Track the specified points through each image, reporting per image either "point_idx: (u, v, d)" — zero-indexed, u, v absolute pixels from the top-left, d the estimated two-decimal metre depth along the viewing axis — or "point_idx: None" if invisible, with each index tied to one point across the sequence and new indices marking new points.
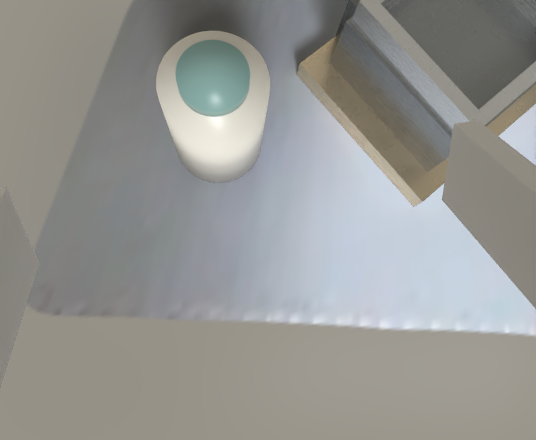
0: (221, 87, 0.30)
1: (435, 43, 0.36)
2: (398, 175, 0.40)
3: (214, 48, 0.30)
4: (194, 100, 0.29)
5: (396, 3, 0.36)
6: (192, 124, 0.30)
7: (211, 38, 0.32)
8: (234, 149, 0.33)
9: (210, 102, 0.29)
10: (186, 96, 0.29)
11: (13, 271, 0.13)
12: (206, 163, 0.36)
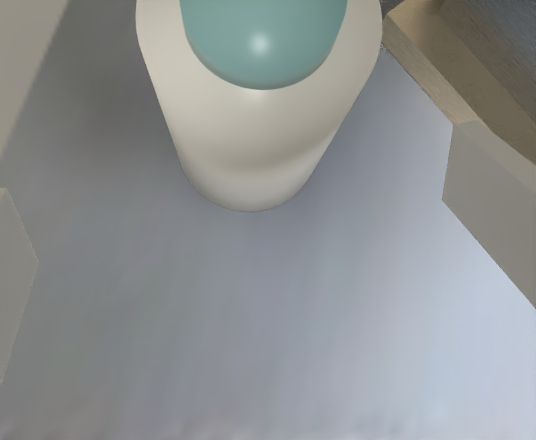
0: (283, 21, 0.13)
1: None
2: None
3: None
4: (221, 49, 0.13)
5: None
6: (214, 106, 0.14)
7: None
8: (294, 159, 0.17)
9: (258, 54, 0.13)
10: (203, 39, 0.13)
11: (13, 271, 0.13)
12: (233, 184, 0.19)
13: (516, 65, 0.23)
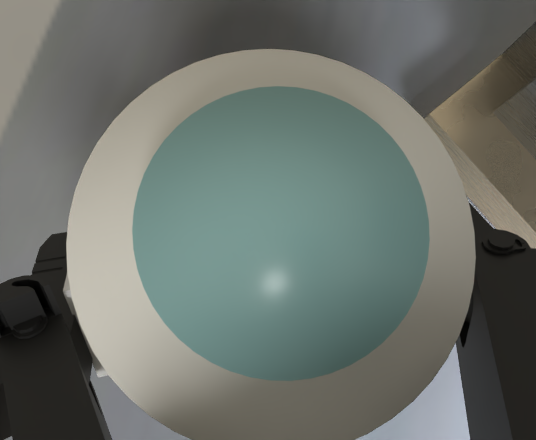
0: (319, 283, 0.07)
1: None
2: None
3: (287, 121, 0.08)
4: (210, 345, 0.07)
5: None
6: (199, 406, 0.08)
7: (266, 75, 0.09)
8: None
9: (276, 351, 0.07)
10: (176, 327, 0.07)
11: None
12: None
13: None
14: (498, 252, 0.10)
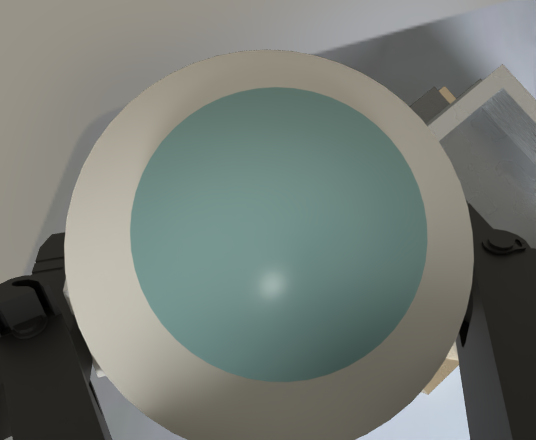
0: (317, 284, 0.07)
1: None
2: None
3: (285, 122, 0.08)
4: (207, 346, 0.07)
5: None
6: (197, 407, 0.08)
7: (264, 76, 0.09)
8: None
9: (274, 352, 0.07)
10: (174, 328, 0.07)
11: None
12: None
13: None
14: (498, 252, 0.10)
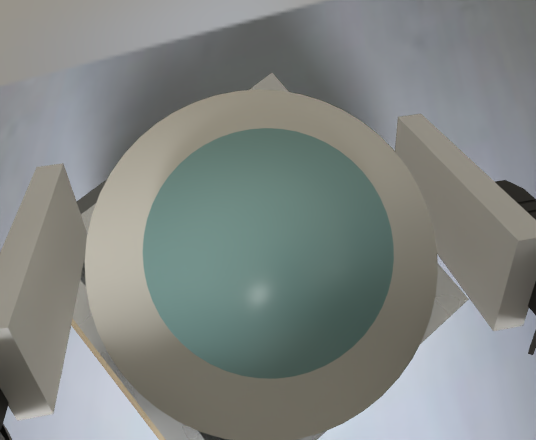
0: (300, 297, 0.09)
1: None
2: None
3: (274, 158, 0.09)
4: (208, 349, 0.08)
5: None
6: (199, 400, 0.09)
7: (256, 113, 0.10)
8: None
9: (263, 354, 0.08)
10: (180, 334, 0.08)
11: (71, 241, 0.14)
12: None
13: None
14: None
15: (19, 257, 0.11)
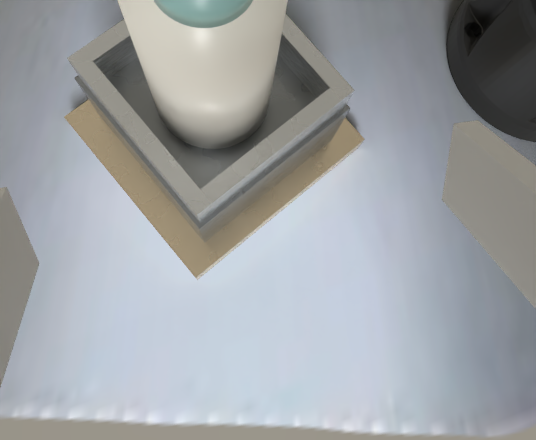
0: None
1: None
2: None
3: None
4: None
5: (136, 56, 0.31)
6: (169, 39, 0.20)
7: None
8: (234, 86, 0.23)
9: (197, 0, 0.19)
10: None
11: (13, 271, 0.13)
12: (195, 114, 0.25)
13: (133, 155, 0.34)
14: None
15: None
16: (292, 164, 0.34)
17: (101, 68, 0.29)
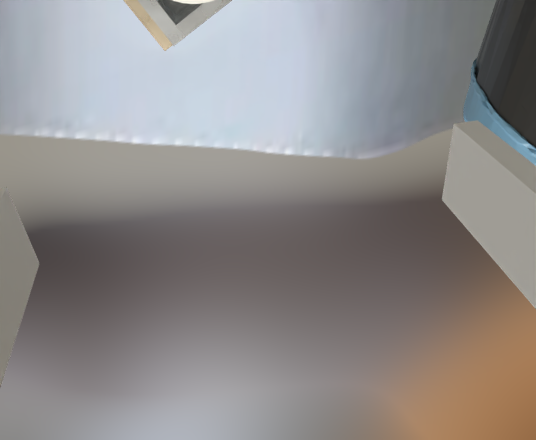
0: None
1: None
2: (143, 24, 0.43)
3: None
4: None
5: None
6: None
7: None
8: None
9: None
10: None
11: (13, 271, 0.13)
12: None
13: None
14: None
15: None
16: None
17: None
